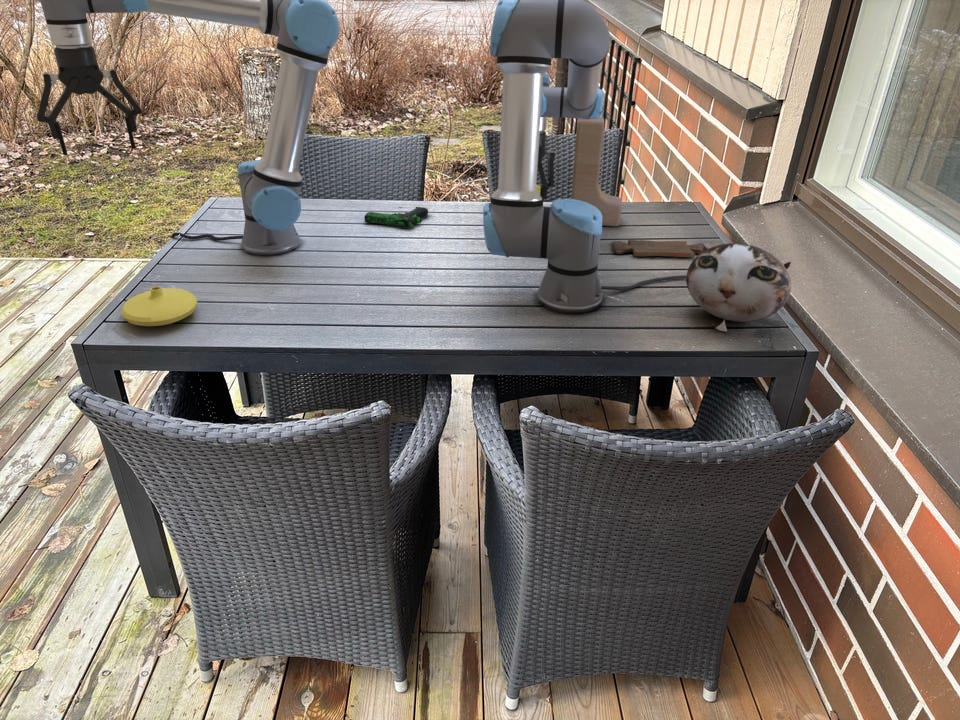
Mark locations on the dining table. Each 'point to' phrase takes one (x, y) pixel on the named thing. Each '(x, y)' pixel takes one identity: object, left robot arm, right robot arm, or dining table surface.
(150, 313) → the vase
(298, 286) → the dining table surface
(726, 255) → the plush toy
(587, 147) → the decorative block
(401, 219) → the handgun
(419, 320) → the dining table surface
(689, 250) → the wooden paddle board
